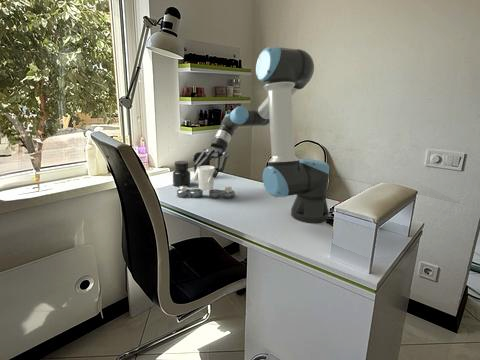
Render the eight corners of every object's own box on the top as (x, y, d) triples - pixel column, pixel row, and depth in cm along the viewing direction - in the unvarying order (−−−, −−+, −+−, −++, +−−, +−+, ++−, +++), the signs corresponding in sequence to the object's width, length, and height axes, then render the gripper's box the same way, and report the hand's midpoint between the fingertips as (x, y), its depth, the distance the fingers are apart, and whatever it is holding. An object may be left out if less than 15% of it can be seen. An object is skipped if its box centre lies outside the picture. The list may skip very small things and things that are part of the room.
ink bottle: (186, 181, 174) (185, 159, 170) (194, 185, 167) (193, 162, 164) (169, 183, 168) (168, 161, 165) (176, 188, 161) (176, 165, 158)
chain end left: (202, 198, 148) (202, 188, 146) (176, 197, 147) (175, 188, 146) (203, 194, 153) (203, 185, 152) (178, 193, 153) (177, 184, 152)
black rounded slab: (194, 179, 177) (194, 153, 173) (191, 178, 179) (191, 152, 175) (210, 177, 183) (211, 151, 179) (208, 175, 186) (208, 150, 181)
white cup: (195, 190, 147) (195, 168, 144) (200, 185, 154) (200, 165, 151) (212, 191, 145) (212, 170, 142) (216, 186, 153) (216, 166, 150)
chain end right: (234, 198, 148) (234, 189, 147) (208, 198, 148) (208, 189, 147) (234, 194, 154) (234, 185, 153) (209, 194, 154) (209, 185, 152)
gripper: (241, 148, 153) (223, 189, 144) (206, 144, 162) (187, 182, 153) (236, 139, 147) (217, 180, 138) (200, 135, 156) (180, 173, 147)
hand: (201, 181), depth 146 cm, fingers closed on white cup, 8 cm apart
